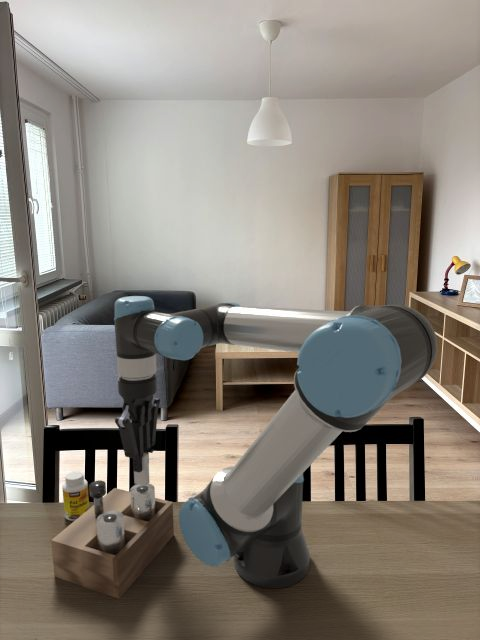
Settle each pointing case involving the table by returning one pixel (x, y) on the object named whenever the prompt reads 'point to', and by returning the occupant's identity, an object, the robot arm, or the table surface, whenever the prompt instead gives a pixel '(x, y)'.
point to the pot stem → (98, 496)
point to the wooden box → (103, 568)
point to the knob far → (143, 502)
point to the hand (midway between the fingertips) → (142, 482)
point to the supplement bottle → (75, 495)
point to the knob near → (111, 532)
